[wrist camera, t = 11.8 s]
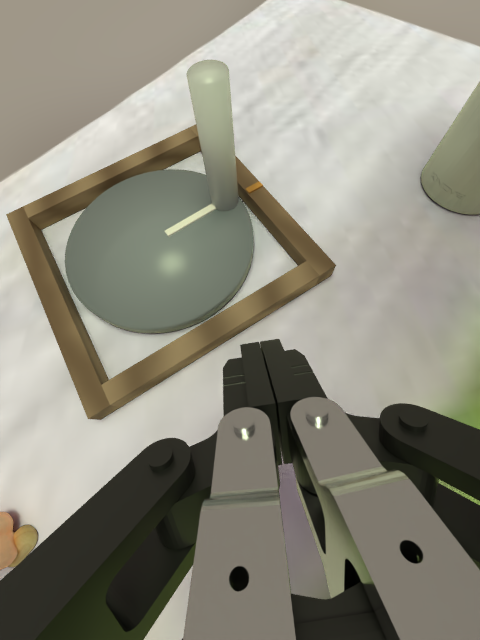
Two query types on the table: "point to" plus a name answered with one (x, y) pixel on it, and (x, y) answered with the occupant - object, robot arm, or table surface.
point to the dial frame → (160, 365)
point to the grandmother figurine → (14, 541)
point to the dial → (168, 230)
